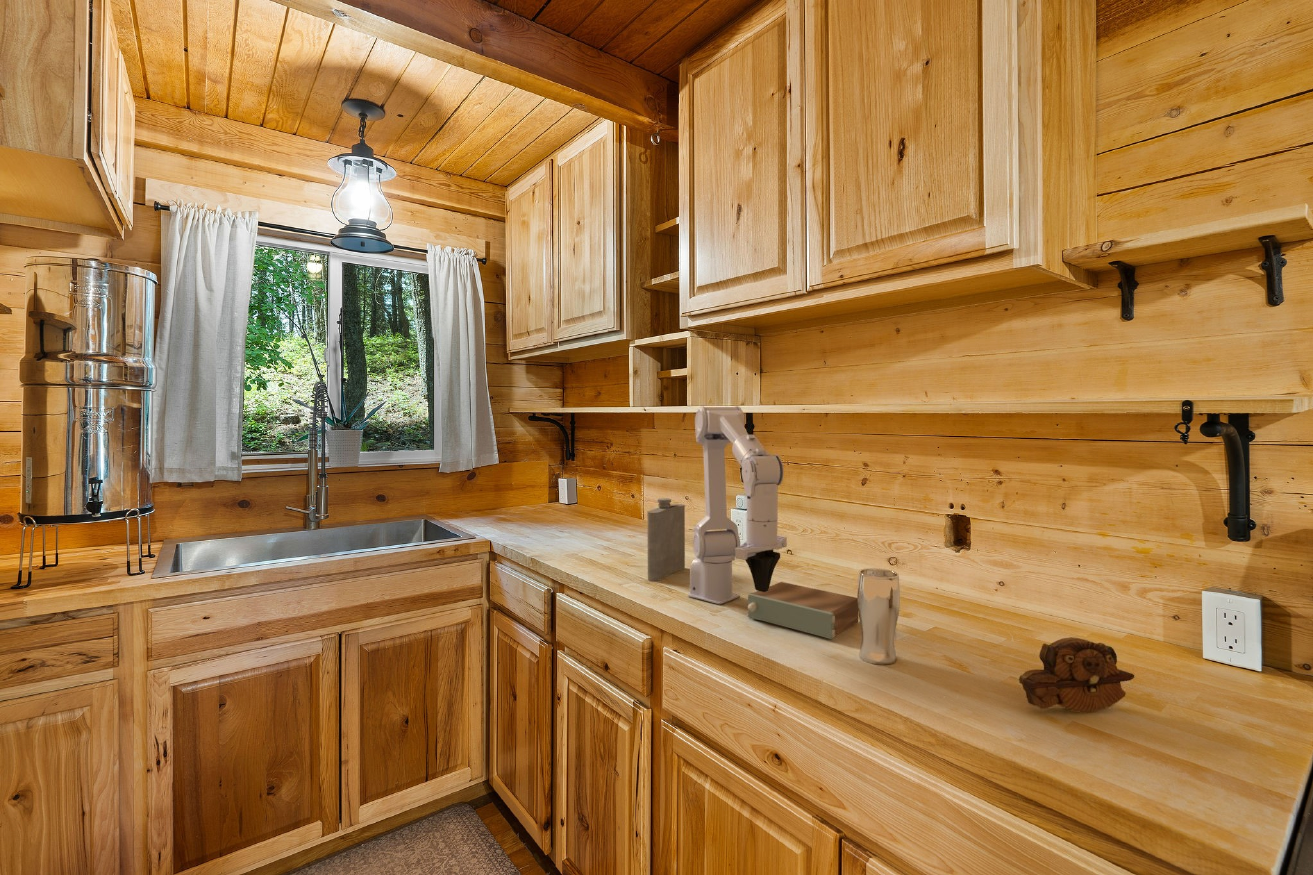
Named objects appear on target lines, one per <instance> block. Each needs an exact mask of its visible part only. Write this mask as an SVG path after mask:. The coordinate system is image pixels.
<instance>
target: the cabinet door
mask: <svg viewBox="0 0 1313 875" xmlns="http://www.w3.org/2000/svg"><path fill="white" fill-rule="evenodd" d="M747 598H748V599H747V617H749V618H753V619H756V620H759V621H764V622H767V623H770V624H774V625H778V626H780V627H781V626H782V627H785V628H790V629H793V630H796V631H800V632H805V633H807V634H812V635H816V636H818V637H822V638H823V637H824V638H827V639H831V640H832V639H833V638H835V637H836V636H835V630H834V623H835V616H834V613H831V612H827V611H822V610H818V609H814V608H810V607H805V606H801V605H797V604H793V603H788V602H784V601H780V600H776V599H772V598H767V597H763V596H759V595H755V594H751V593H750V594H748V595H747Z"/></svg>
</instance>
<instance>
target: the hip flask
mask: <svg viewBox="0 0 1313 875" xmlns="http://www.w3.org/2000/svg"><path fill="white" fill-rule="evenodd" d="M657 503H658V507H657V508H653V509H650V510H649V511H647V512H646V514H647V518H646V519H647V523H646V524H647V525H646V526H647V530H646V531H647V532H646V533H647V581H649V582H659V581H661V580H662V579H663V578H666V577H667V576H670V575H671V574H675V573H677V572H681V571H684V570H685V569H686V561H685V560H686V559H685V558H686V555H685V554H686V552H685V551H686V547H685V546H686V544H685V543H686V540H685V539H686V538H685V537H686V529H685V528H686V523H685V520H686V518H685V514H686V513H685V512H686V511H685V510H686V509H685V506H686V505H685V504H682V503H679V504H677V503H676V504H675V503H674V504H672V499H671V498H665V497H662V498H658V499H657ZM674 572H675V573H674ZM665 576H666V577H665ZM660 579H661V580H660Z"/></svg>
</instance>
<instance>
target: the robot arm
mask: <svg viewBox="0 0 1313 875" xmlns="http://www.w3.org/2000/svg"><path fill="white" fill-rule="evenodd" d="M694 426H695V430H694V431H695V432H694V433H695V438H696V439H695V440H696V441H695V442H696V443H697V444H699V445H702V451H703V453H702V454H703V473H704V474H703V475H704V476H703V477H704V478H703V479H704V502H705V507H704V508H705V516H704V517H703V518H702V519H700V521H698V522H697V523H696V524H695V525H694V528H693V538H692V547H693V548H692V549H693V553H694V555H695V558H694V559H693V560H692V562H691V564H690V567H689V593H688V594H687V597H689V598H693V599H697V600H701V601H704V602H709V603H713V604H716V605H722V604H726V603H728V602H730V601H733V600H736V599H738V598H741V595H740V594H738V593H736V592H735V593H734V592H733V561H735V560H736V559H738V560H742V561H745V562H746V564H747V567H748V568H749V570H750V574H751V577H752V581H753V585H754V590H755V591H761V592H766V591H768V589H769V586H771V582H772V581H771V580H772V576H773V574H774V572H775V568H776V565H777V564H778V563H779V560H780V559H781V553H780V552H777V551H778V550H782V549H783V548H786V547H787V545H788V544H787V543H788V540H787V537H786V536H782V535H778V518H779V517H778V512H779V511H778V509H779V508H778V501H779V500H778V499H779V498H778V494H779V493H778V489H779V487H778V486H781V484H782V482H783V480H784V474H785V473H784V472H785V470H784V464H783V461H782V459H781V457H780V455H778V454H773V453H769V452H768V451H767V450H766V448H765V447H764V446H763V445H762V443H761V442H760V440H759V439H758V438H757V436H756V435H754V434H749V433H748V432H747V429H746V428H745V413H744V412H743V409H742V408H741V407H740V406H738V405H737V406H700V407H699V408H698V409H697V411H696V413H695V417H694ZM730 443H731V444H732V448H731V451H732V454H733V456H734V457H735V459H736V460H737V463H738V464H739V465H740V467H741V477H742V478H741V479H742V482H743V491H744V494H745V495H746V541H745V542H744V543H742V544H741V539H740V535H739V530H738V525H737V523H736V522H734V520H733V521H732V520H731V519H730V518H729V517H728V511H727V510H728V509H727V489H726V488H727V487H726V485H727V484H726V483H727V482H726V480H727V479H726V462H725V461H726V459H725V449H726V447H727V445H729V444H730ZM774 550H776V551H774Z"/></svg>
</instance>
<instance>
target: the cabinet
mask: <svg viewBox="0 0 1313 875" xmlns="http://www.w3.org/2000/svg"><path fill="white" fill-rule="evenodd" d="M750 594H755V595H759V596H763V597H767V598H772V599H776V600H780V601H784V602H788V603H793V604H797V605H801V606H805V607H810V608H814V609H818V610H822V611H827V612H831V613H834V616H835V623H834V630H835V637H836V636H837V635H839V634H840V633H841V634H842V633H843V632H844V631H845V630H848V629H849V628H851V627H853V626H855V625H857V624H858V623H859V610H858V601H857V597H855V596H850V595H845V594H843V593H842V594H841V593H837V592H830V591H827V590H821V589H816V588H812V587H809V586H808V587H807V586H803V585H797V584H793V583H789V582H784V581H781V582H778V583H777V582H776V583H775V584H772V585H770V586H769V589H768V591H766V592H761V591H757V590H755V591H754V592H751V593H750Z"/></svg>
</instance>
